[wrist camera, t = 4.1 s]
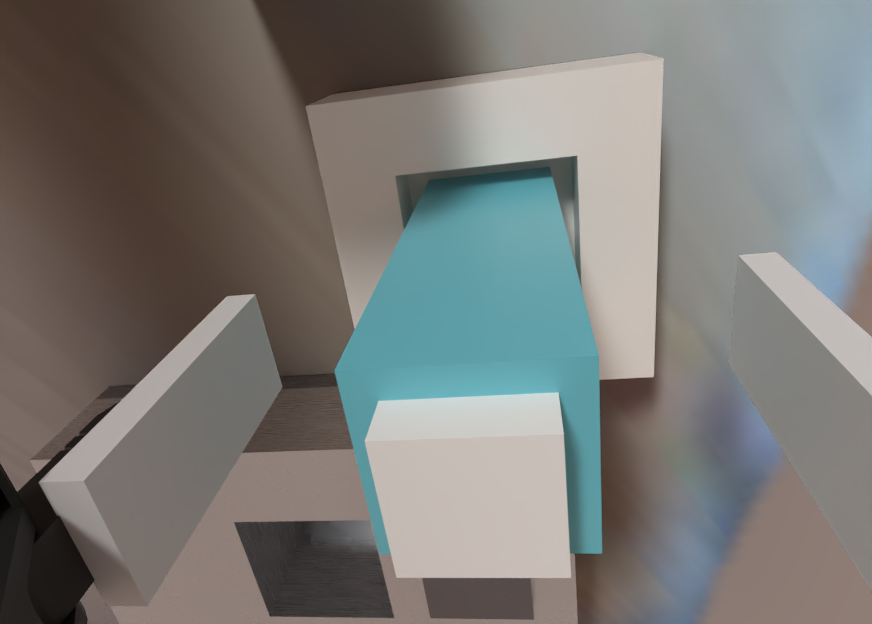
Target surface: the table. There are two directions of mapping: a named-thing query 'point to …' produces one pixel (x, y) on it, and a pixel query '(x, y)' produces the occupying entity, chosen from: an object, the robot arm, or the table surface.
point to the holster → (509, 151)
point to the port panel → (311, 538)
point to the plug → (478, 388)
